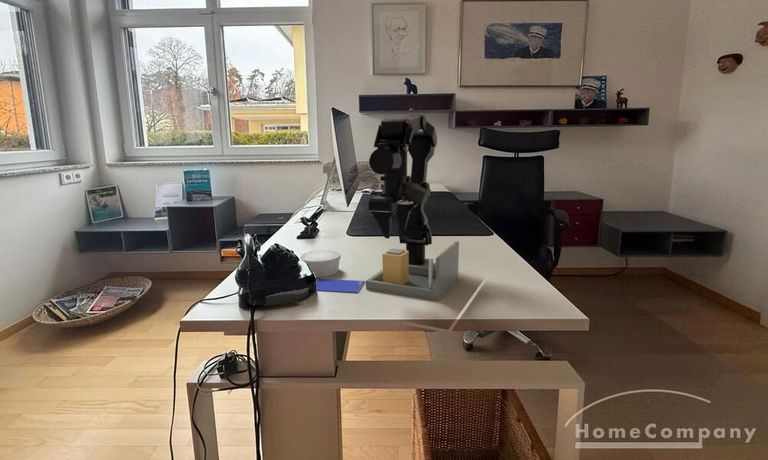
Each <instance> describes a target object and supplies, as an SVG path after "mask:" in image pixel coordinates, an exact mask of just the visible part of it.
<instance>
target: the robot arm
mask: <svg viewBox="0 0 768 460" xmlns="http://www.w3.org/2000/svg"><path fill="white" fill-rule="evenodd" d="M437 145H438V137H437V132H436V129H435V126H433V125H432V124H431V123H429V122H428V120H427V118H426V115H423V114H409V115H407V116H406V117H403V118H383V119H382V120H381V121H380V123H379V125H378V128H377V131H376V135H375V139H374V143H373V148H375V149H374V151H373V152H371V153H370V156H369V160H368V164H369V167H370V169H371V171H372V172H374V173H375V174H377V175H382V176H380V181H381V182H383V192H380V196H374V197H370V198H369V199H368V201H367V204H366V205H367V206H366V207H367V211H369V212H370V214H372V215H373V217H374V219H375V221H376V223H377V225H378V226H379V229H380V230H381V233H382V235H383V237H384V238H385V239H390V237H391V232H392V222H393V217H395V216H396V221H397V224H398V230H397V231H398V232H397V233H398V239H399V244H401V245H402V244H403V245H404V244H405V250H406V251H409V265H414V266H423V265H424V264H426V263H427V262H428V263H429V259H430V258H426V246H430V245H432V244H433V237H432V232H431V228H430V226H429V219H428V217H427V215H426V214H425V212H424V210H425V209H424V207H425V204H426V203H427V201H428V199H429V197H430V196H431V195H432V193H431V191H432V189H431V187H430V186H431V185H430V183H429V182H427V175H428V164H429V162H430V160H431V159H432V157H433V156H434V154H435V148H436V147H437ZM408 153H409V155H410V157H411V159H412V160H411V171H410V175H408Z"/></svg>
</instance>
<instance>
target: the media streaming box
mask: <svg viewBox="0 0 768 460" xmlns="http://www.w3.org/2000/svg"><path fill="white" fill-rule="evenodd" d="M309 287H310V286H308V288H304V289H300V290H293V291H287V292H280V293H276V294H273V295H269V296H266V297H265V298H266V304H264V306H263V307H268V306H276V305H285V304H293V303H299V302H301V300H302V299H305V298H306V297H308V296H309V295H310V291H309V289H310V288H309Z"/></svg>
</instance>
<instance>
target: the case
mask: <svg viewBox="0 0 768 460" xmlns="http://www.w3.org/2000/svg"><path fill="white" fill-rule="evenodd" d="M459 249H460V242H459V240H458V241H454V242H453V243H452V244H450V246H448V247H447V248H446V249H445V250H444V251H443V252H441V253H440V254H439V255H438V256H437V257H436V258H435V267H434V258H428V259H429V261H428V267H427V266H423V265H413V264H409V281H407V282H406V283H405V284H404V285H400V284H393V283H387V282H383V268H382V269H381V270H380V271H378V272H376V273H375V274H374V275H372V276H371V277H369V278H367V279H366V280H365V289H366V290H371V291H377V292H383V293H384V292H385V293H390V294H396V295H397V294H398V295H403V296H409V297H415V298H421V299H428V300H431V301H432V300H433V301H440V299H441V298H442V297H443V296H444V295H445V294H446V293H447V291H449V289H450V288H451V287H452V286H453V285H454V284H455V283H456V282H457V280H458V279H459V259H460V258H459V256H460V255H459V251H460V250H459Z"/></svg>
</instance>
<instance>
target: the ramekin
mask: <svg viewBox="0 0 768 460" xmlns="http://www.w3.org/2000/svg"><path fill="white" fill-rule="evenodd" d="M299 258H300V259H301V260H302V261H304V262H306V263H307V264H308V265H309V267H310V268H311V269H312V271H313V272H314V274H315V276H316V278H315V279H322V277H329V276H333V275H335V274H337V273H338V272H339V266H340V260H341V253H339V252H338V251H335V250H330V249H329V250H328V249H323V250H322V249H321V250H320V249H319V250H311V251H307V252H304V253H302V254H300V256H299ZM300 259H299V260H300ZM303 259H304V260H303Z"/></svg>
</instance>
